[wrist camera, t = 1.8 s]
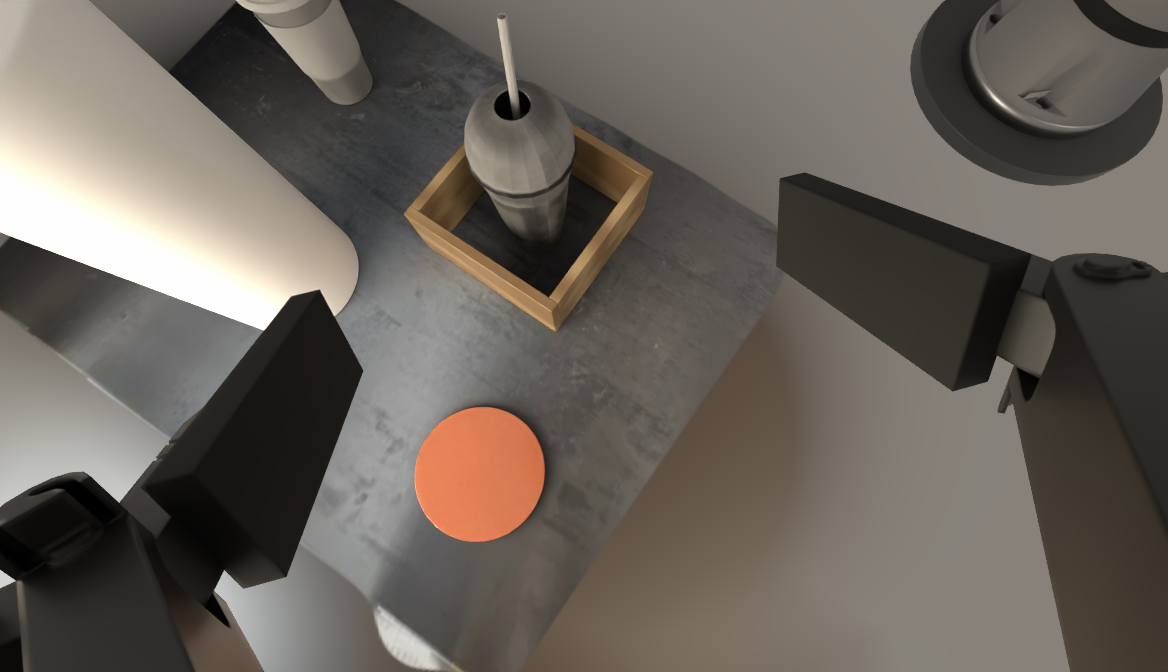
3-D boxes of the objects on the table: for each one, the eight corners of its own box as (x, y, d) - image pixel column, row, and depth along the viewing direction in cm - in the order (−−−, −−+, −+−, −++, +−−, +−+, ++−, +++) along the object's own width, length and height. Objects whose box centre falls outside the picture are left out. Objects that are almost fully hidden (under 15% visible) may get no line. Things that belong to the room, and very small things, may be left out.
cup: (321, 125, 44) (227, 8, 33) (302, 69, 46) (206, -62, 34) (394, 99, 45) (328, -24, 33) (373, 45, 46) (303, -91, 35)
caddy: (520, 134, 44) (511, 86, 38) (644, 210, 42) (653, 171, 36) (428, 246, 41) (403, 213, 36) (556, 332, 40) (551, 312, 34)
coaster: (529, 393, 38) (528, 392, 38) (558, 520, 36) (558, 521, 36) (406, 425, 38) (404, 425, 37) (429, 556, 36) (427, 557, 35)
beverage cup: (490, 262, 41) (407, 95, 22) (502, 187, 43) (435, -32, 23) (574, 270, 41) (566, 109, 21) (582, 194, 43) (582, -20, 23)
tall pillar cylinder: (384, 268, 41) (93, 3, 17) (290, 360, 39) (-196, 214, 15) (302, 194, 42) (-74, -146, 18) (207, 280, 41) (-354, 28, 16)
